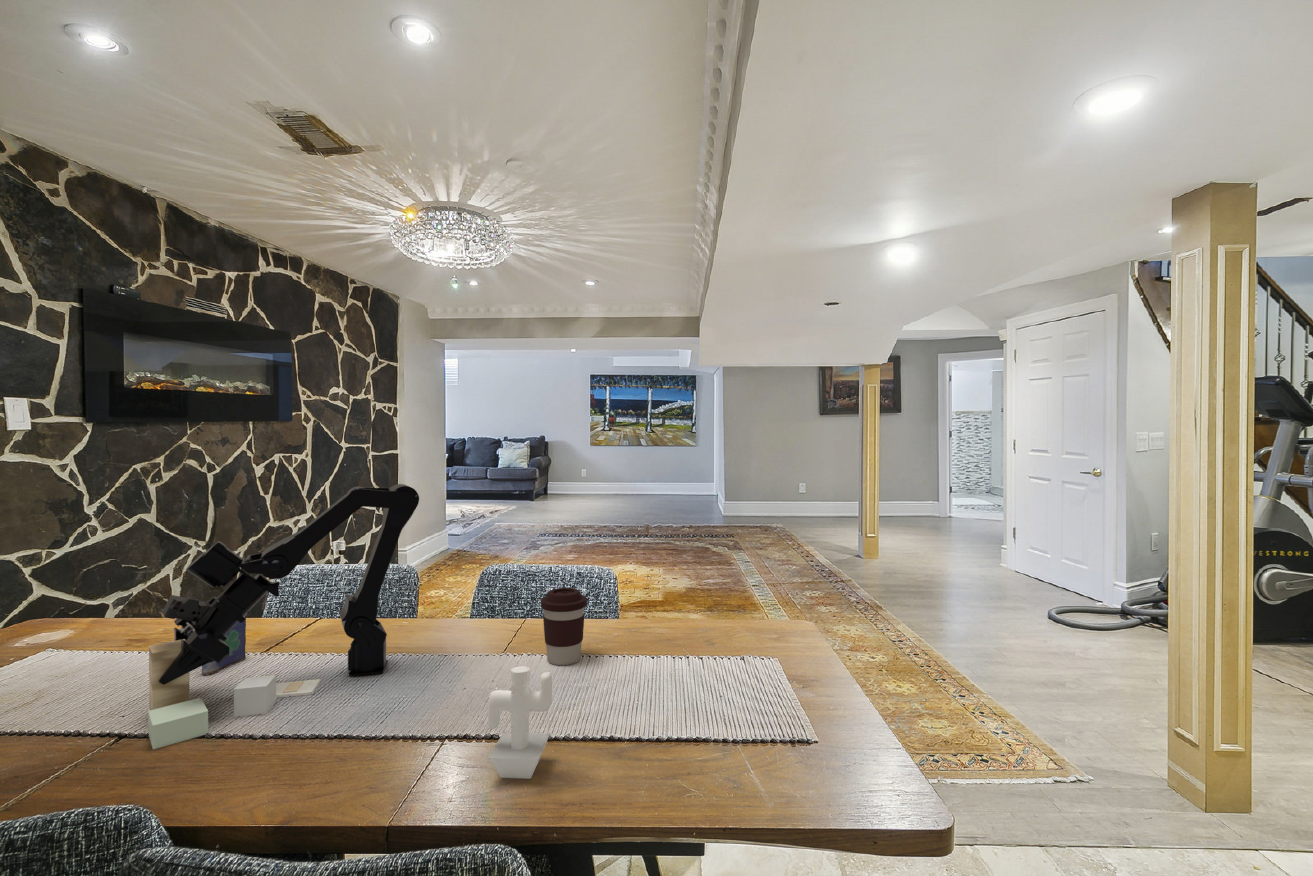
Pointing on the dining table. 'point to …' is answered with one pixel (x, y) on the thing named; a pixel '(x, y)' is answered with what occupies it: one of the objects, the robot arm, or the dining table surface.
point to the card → (296, 688)
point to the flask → (230, 649)
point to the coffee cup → (563, 625)
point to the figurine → (519, 724)
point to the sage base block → (177, 722)
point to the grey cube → (255, 695)
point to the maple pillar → (158, 664)
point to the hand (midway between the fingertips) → (159, 678)
